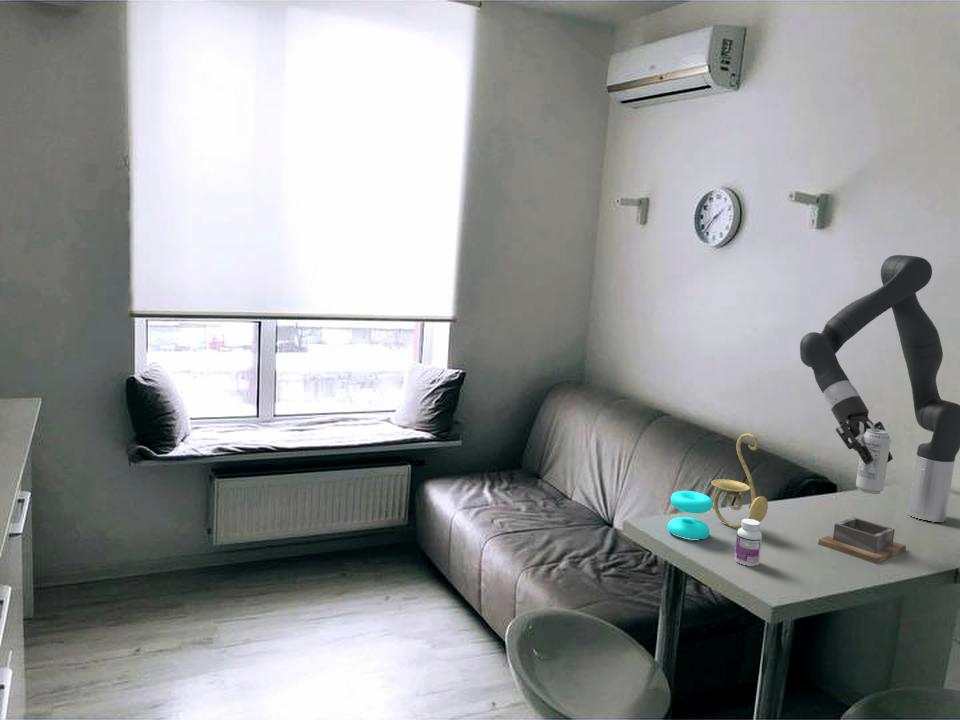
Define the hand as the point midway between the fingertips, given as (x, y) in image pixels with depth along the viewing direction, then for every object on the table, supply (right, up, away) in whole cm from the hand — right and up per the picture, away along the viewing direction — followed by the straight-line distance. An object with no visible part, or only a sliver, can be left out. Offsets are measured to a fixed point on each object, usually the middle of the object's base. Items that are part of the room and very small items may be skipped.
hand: (879, 461), depth 191 cm
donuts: (-44, -19, +5) cm, 49 cm away
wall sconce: (-31, -19, +13) cm, 38 cm away
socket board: (-2, -21, +4) cm, 22 cm away
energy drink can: (-1, -8, +3) cm, 8 cm away
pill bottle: (-35, -22, -10) cm, 43 cm away
